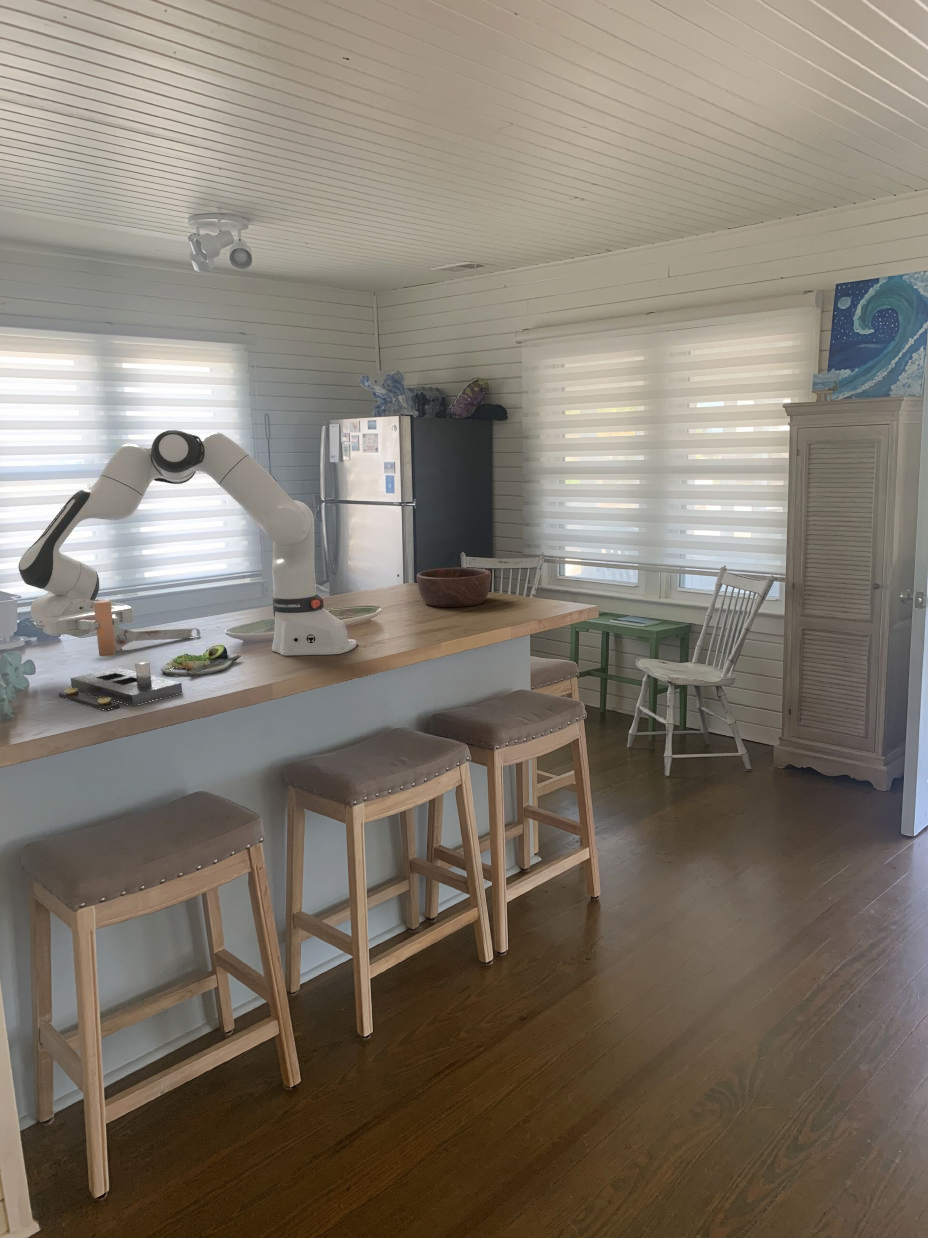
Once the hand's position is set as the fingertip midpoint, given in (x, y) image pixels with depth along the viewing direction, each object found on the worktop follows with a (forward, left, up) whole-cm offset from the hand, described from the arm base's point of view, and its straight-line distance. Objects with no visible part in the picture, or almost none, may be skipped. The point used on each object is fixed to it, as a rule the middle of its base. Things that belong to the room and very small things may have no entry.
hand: (106, 623), depth 203 cm
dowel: (+1, 0, -7) cm, 7 cm away
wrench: (+17, -43, -15) cm, 48 cm away
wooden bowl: (-55, -113, -15) cm, 126 cm away
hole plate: (-4, +5, -15) cm, 16 cm away
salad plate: (-11, -21, -16) cm, 28 cm away
